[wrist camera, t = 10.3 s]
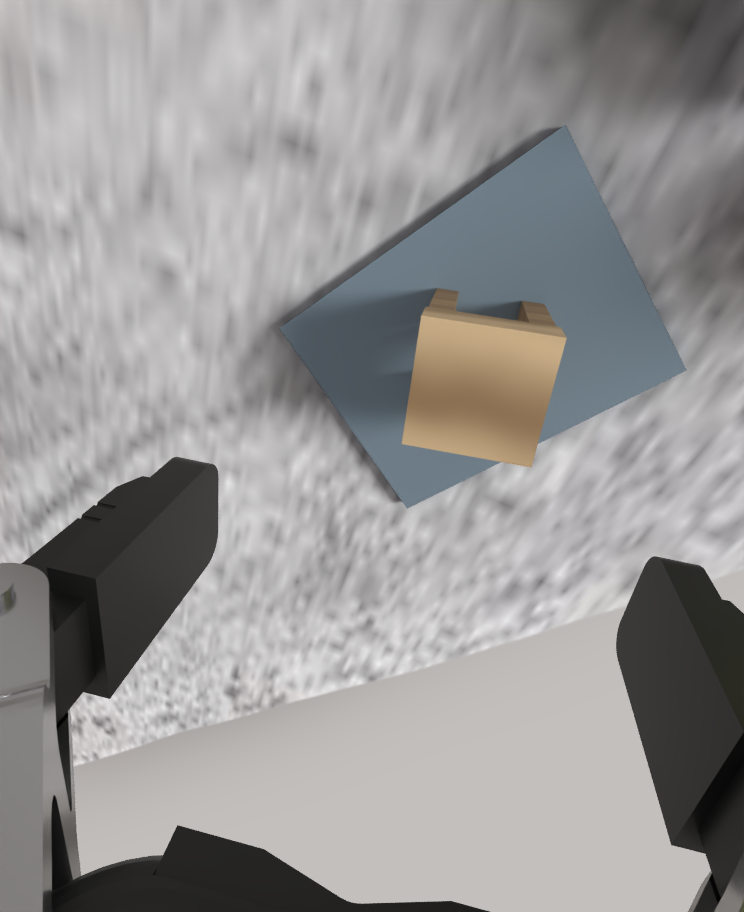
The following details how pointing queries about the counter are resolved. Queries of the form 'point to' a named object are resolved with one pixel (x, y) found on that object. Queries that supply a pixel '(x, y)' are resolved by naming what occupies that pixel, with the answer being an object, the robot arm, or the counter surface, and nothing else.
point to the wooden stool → (482, 381)
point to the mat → (490, 310)
